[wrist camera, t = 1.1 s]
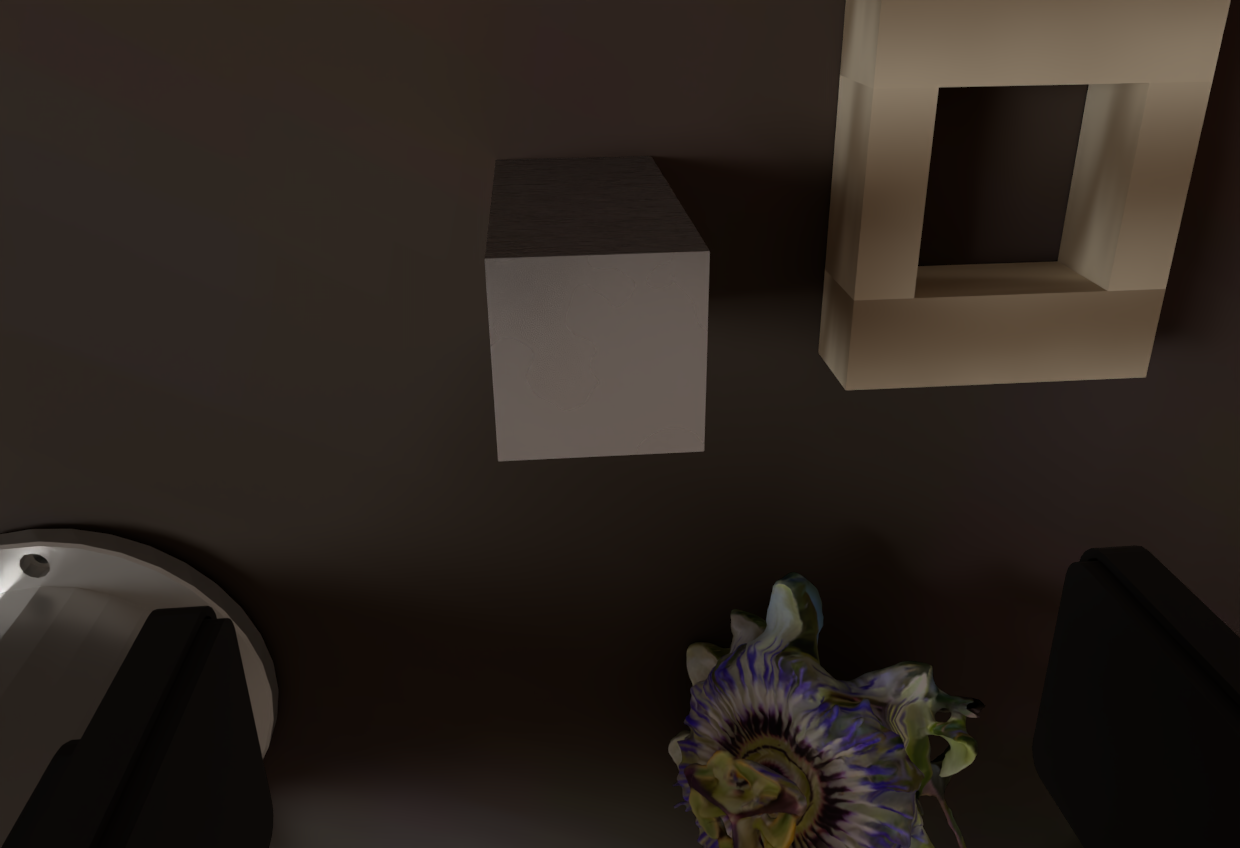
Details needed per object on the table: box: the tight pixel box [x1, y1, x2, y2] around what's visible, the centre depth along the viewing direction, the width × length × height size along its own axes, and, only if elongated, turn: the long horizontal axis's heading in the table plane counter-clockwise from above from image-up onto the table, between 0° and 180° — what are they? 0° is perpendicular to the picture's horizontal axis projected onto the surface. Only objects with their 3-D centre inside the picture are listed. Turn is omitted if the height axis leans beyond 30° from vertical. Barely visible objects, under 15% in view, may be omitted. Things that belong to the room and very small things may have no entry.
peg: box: [485, 156, 710, 461], centre depth 25 cm, size 4×4×10 cm
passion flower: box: [668, 572, 985, 848], centre depth 35 cm, size 11×11×12 cm
